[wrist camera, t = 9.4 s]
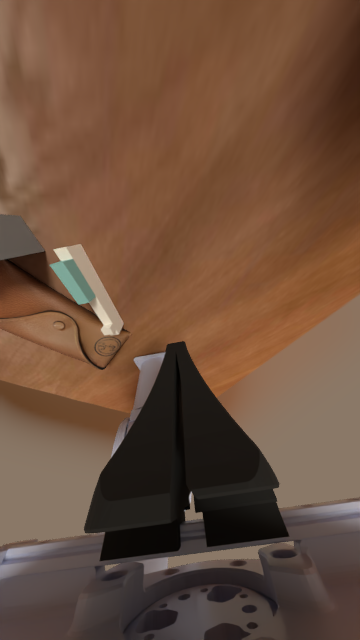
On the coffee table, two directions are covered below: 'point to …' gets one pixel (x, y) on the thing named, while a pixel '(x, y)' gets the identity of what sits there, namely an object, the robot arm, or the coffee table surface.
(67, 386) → the coffee table surface
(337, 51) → the coffee table surface
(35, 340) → the sunglasses case
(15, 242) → the grey block
